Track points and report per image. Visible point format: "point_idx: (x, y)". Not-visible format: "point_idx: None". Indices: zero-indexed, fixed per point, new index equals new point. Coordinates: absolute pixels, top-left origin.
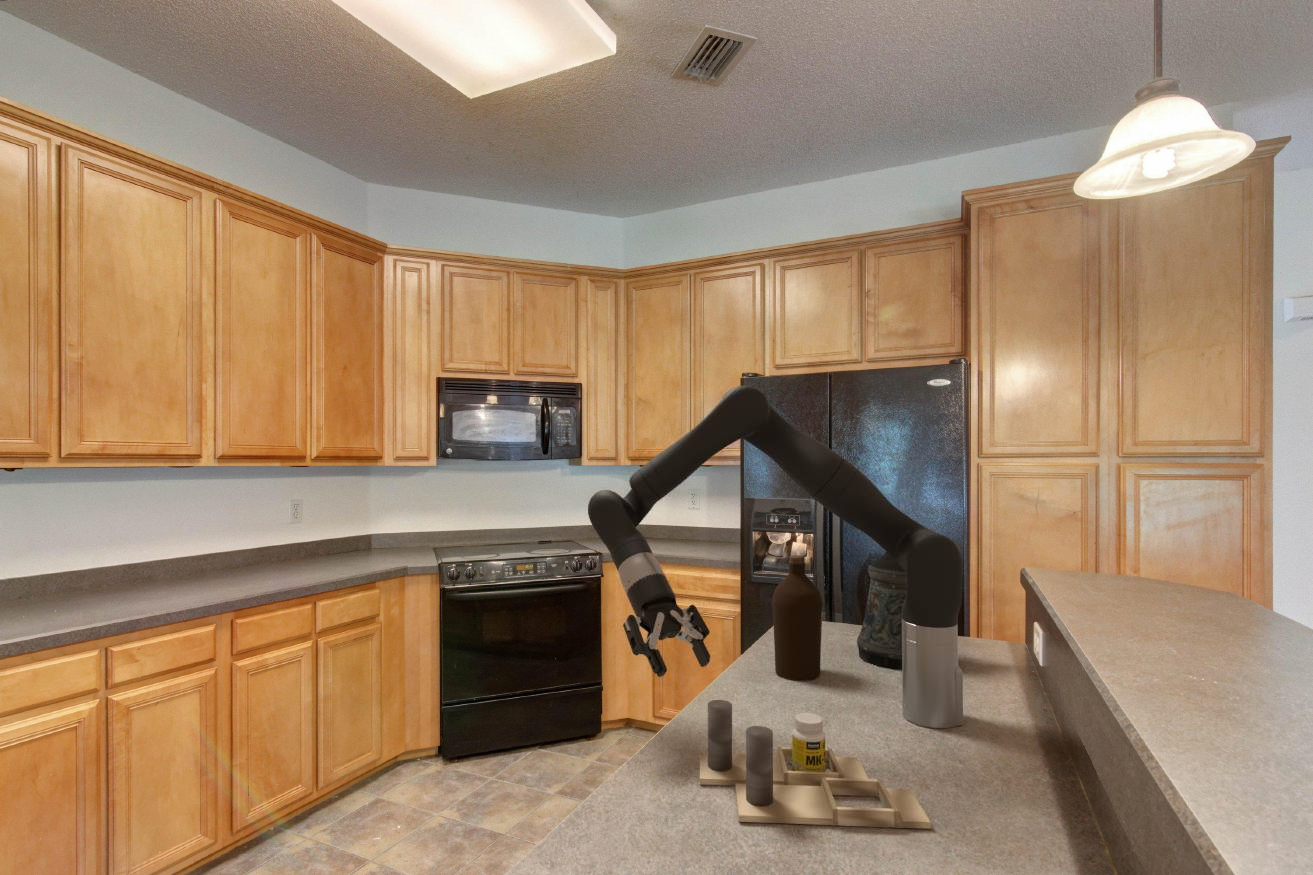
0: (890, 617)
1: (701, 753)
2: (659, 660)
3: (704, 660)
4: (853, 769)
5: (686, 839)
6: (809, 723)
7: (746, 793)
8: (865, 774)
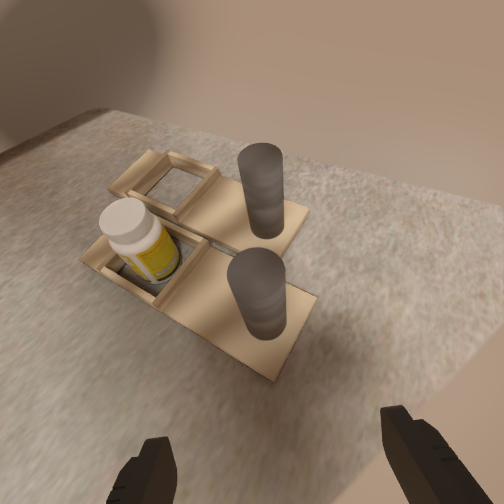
0: None
1: (272, 376)
2: (427, 443)
3: (167, 453)
4: None
5: (381, 210)
6: (139, 200)
7: (283, 224)
8: None
